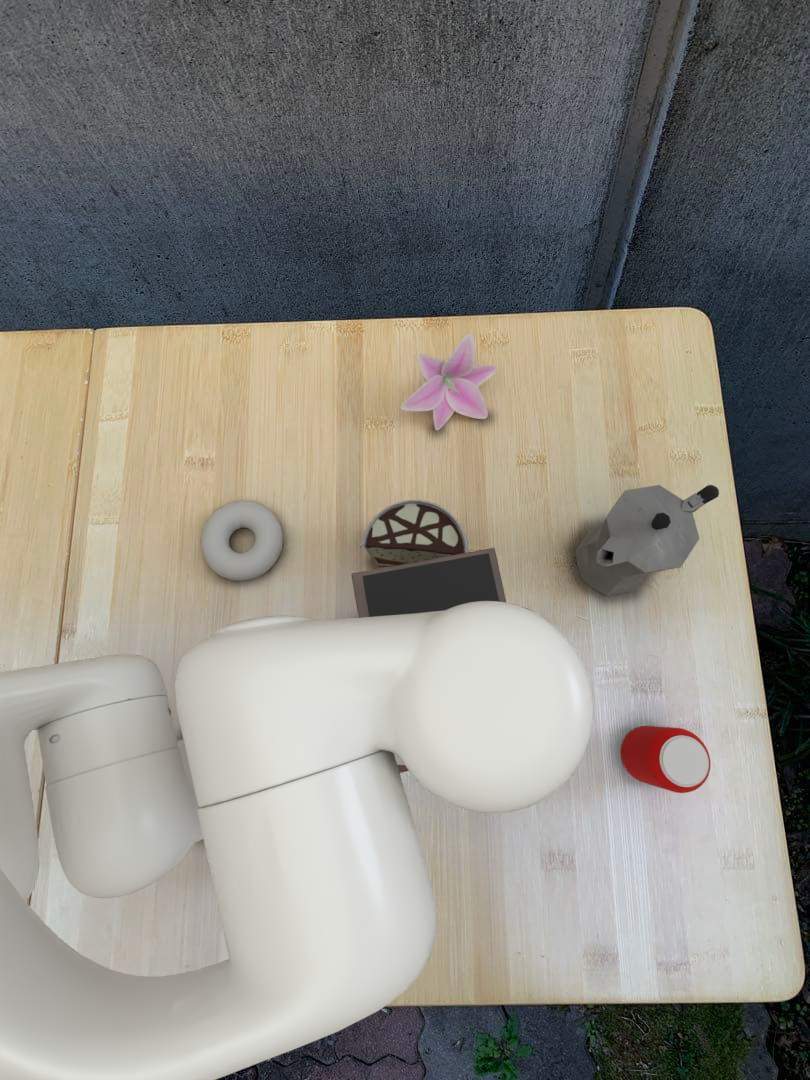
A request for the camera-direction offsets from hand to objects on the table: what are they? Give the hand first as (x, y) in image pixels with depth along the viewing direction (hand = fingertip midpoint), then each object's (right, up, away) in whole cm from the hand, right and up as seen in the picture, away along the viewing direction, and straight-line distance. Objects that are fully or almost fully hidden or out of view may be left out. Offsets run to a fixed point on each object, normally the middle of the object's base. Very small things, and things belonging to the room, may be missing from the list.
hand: (452, 707), depth 52 cm
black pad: (-1, +6, +2) cm, 7 cm away
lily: (-1, +36, +36) cm, 51 cm away
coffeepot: (+23, +11, +31) cm, 40 cm away
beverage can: (+24, -12, +26) cm, 37 cm away
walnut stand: (0, -3, +28) cm, 28 cm away
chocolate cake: (-2, +12, +32) cm, 34 cm away
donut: (-24, +12, +32) cm, 42 cm away
